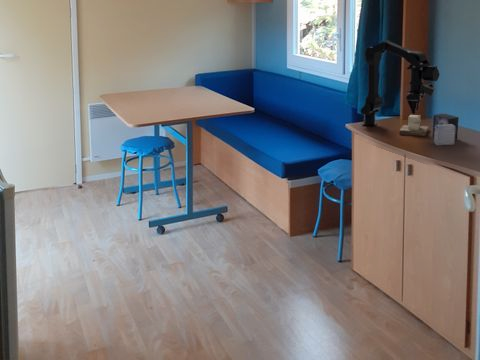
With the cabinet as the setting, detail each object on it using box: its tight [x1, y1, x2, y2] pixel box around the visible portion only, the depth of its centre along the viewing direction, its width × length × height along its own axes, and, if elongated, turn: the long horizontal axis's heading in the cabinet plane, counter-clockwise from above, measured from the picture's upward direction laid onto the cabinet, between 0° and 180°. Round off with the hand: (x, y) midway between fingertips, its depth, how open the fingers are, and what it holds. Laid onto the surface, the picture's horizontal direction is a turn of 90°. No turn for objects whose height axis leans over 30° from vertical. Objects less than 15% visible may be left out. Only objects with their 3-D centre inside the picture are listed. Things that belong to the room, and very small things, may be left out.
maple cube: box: [407, 114, 422, 130], centre depth 305 cm, size 5×5×6 cm
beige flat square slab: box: [398, 124, 429, 137], centre depth 306 cm, size 12×12×2 cm
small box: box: [432, 113, 460, 140], centre depth 293 cm, size 11×6×10 cm, turn 23°
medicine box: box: [433, 124, 456, 146], centre depth 282 cm, size 8×4×9 cm, turn 92°
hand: (415, 111), depth 303 cm, fingers open, 9 cm apart
